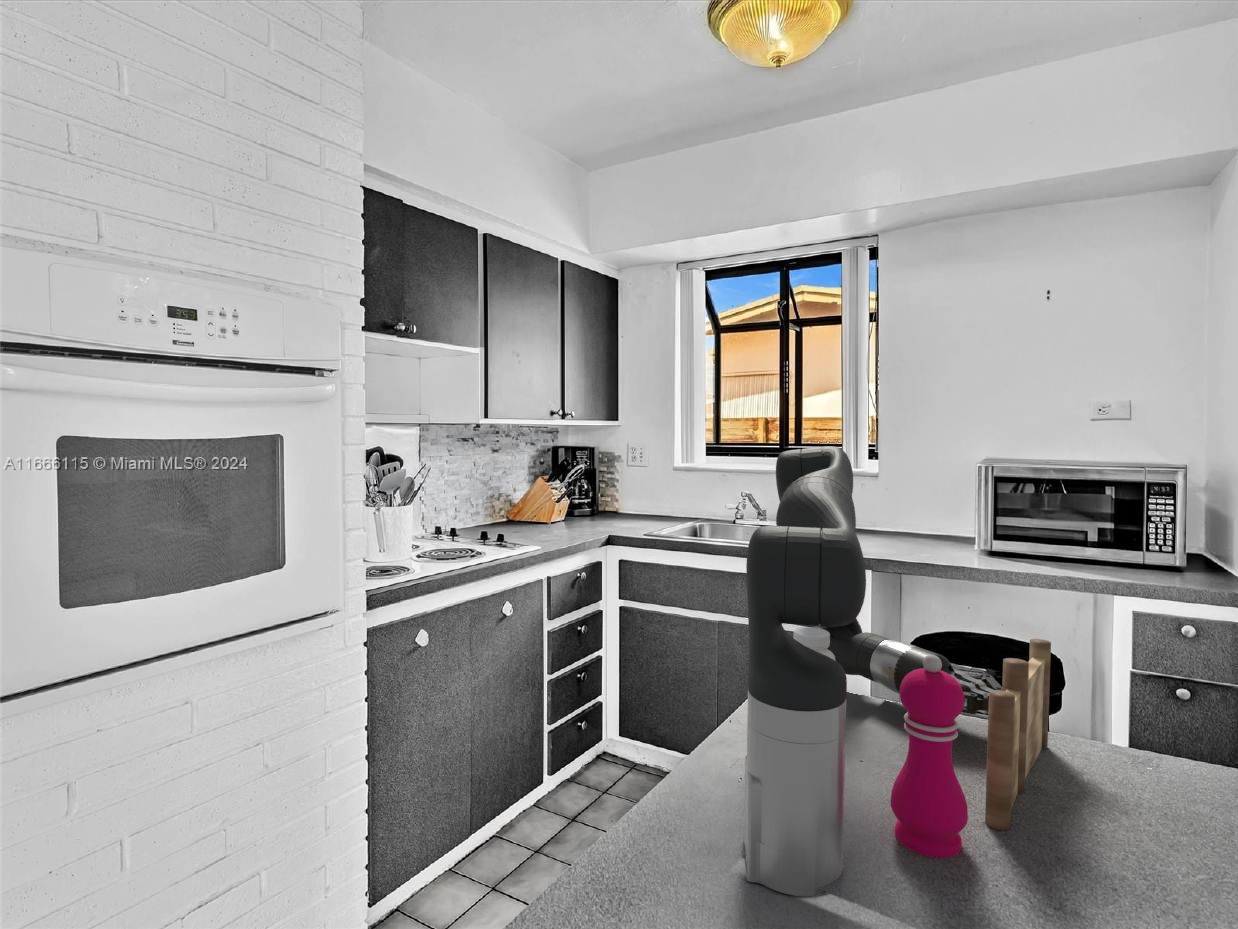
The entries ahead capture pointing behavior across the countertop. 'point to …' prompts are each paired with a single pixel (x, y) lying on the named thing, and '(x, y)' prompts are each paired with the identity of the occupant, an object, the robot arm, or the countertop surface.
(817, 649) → the supplement bottle
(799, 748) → the robot arm
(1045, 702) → the swing panel
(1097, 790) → the countertop surface
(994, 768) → the fixed panel
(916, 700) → the pepper mill
